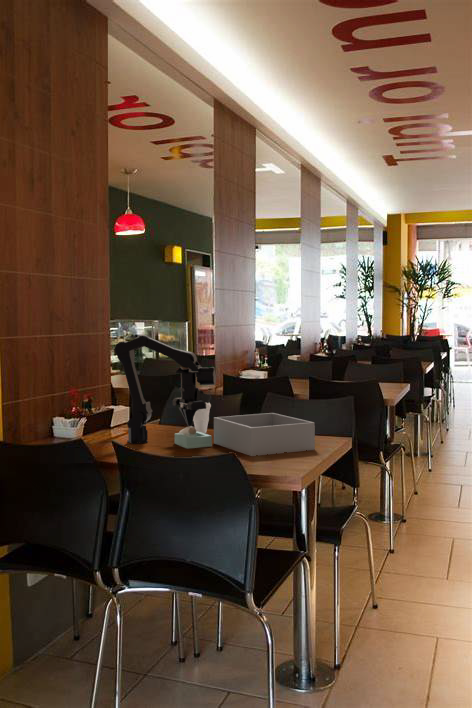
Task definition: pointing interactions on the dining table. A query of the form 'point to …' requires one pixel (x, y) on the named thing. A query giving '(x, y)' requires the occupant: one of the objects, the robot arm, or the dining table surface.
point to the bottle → (188, 431)
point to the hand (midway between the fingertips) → (189, 426)
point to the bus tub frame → (264, 433)
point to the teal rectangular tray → (193, 440)
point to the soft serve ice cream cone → (202, 419)
